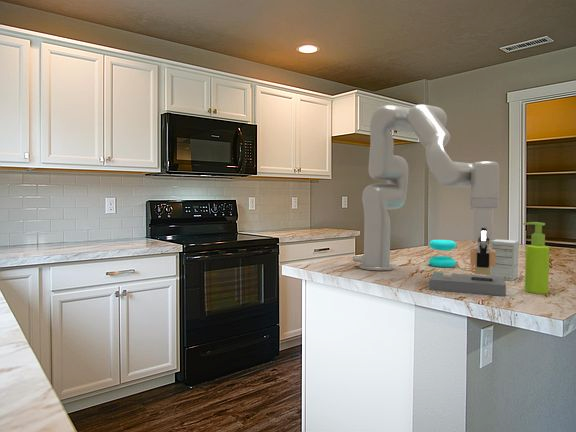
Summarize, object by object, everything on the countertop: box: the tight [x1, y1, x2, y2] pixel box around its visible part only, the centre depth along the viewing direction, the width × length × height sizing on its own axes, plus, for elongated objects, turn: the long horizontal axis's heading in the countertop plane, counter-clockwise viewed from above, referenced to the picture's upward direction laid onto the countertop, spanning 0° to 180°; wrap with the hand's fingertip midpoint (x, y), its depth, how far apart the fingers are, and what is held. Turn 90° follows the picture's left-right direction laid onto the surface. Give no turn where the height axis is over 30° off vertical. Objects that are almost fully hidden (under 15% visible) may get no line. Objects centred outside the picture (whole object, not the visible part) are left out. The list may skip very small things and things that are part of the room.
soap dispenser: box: [522, 221, 551, 295], centre depth 128 cm, size 6×7×20 cm
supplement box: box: [489, 238, 520, 282], centre depth 149 cm, size 7×7×13 cm
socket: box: [428, 271, 507, 297], centre depth 131 cm, size 20×14×4 cm
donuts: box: [428, 239, 457, 268], centre depth 174 cm, size 10×10×10 cm
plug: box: [469, 248, 496, 276], centre depth 129 cm, size 7×7×7 cm
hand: (482, 264), depth 129 cm, fingers closed on plug, 6 cm apart
